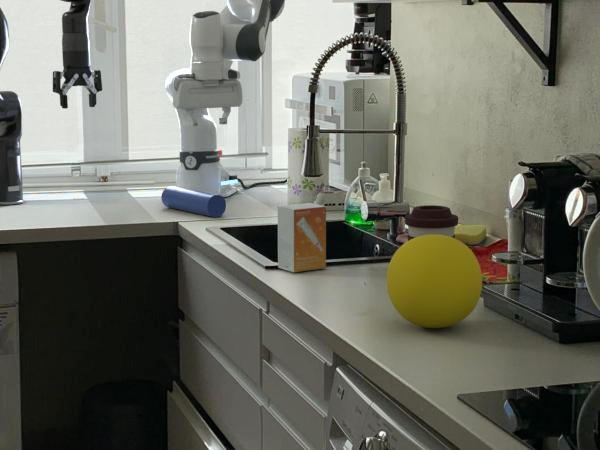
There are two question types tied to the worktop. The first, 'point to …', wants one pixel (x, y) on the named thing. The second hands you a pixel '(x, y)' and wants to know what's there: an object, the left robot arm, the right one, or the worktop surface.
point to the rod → (194, 201)
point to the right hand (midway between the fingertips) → (208, 125)
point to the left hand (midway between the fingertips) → (78, 107)
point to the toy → (434, 281)
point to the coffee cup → (431, 221)
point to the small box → (301, 237)
